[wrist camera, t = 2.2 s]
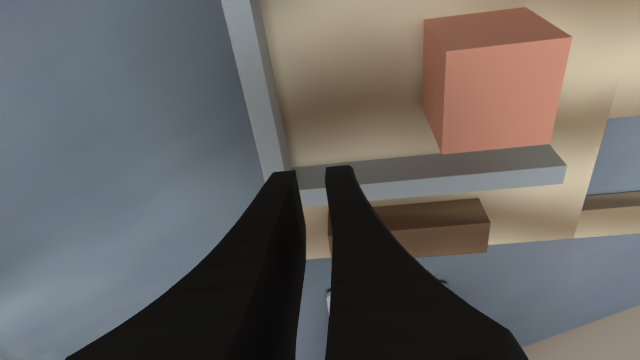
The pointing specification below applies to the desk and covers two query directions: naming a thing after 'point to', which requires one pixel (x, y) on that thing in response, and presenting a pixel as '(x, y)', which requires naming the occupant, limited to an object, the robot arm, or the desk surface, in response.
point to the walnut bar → (436, 227)
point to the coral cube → (492, 79)
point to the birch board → (407, 103)
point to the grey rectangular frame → (380, 174)
